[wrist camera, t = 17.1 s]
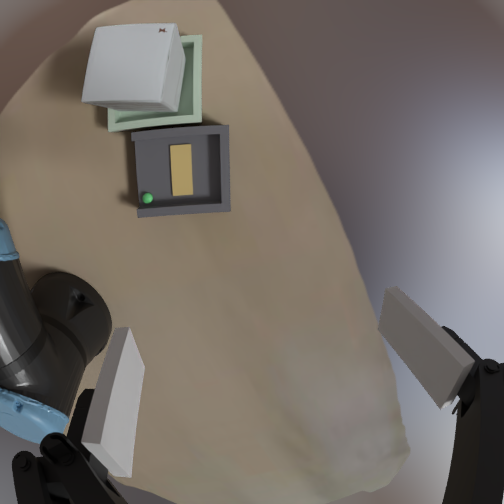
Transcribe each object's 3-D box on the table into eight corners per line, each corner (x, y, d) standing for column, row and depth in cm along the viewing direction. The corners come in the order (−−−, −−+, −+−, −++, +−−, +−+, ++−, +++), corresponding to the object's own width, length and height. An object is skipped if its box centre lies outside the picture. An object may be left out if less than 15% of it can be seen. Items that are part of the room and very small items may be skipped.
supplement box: (129, 57, 27) (95, 24, 15) (187, 58, 28) (179, 20, 17) (119, 112, 30) (78, 103, 18) (177, 115, 31) (163, 102, 20)
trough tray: (115, 132, 31) (108, 131, 28) (116, 52, 27) (109, 46, 24) (202, 123, 33) (201, 122, 30) (202, 42, 28) (202, 34, 26)
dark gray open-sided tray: (143, 210, 36) (137, 217, 32) (138, 132, 32) (131, 132, 28) (228, 204, 37) (230, 211, 34) (226, 126, 33) (228, 125, 30)
